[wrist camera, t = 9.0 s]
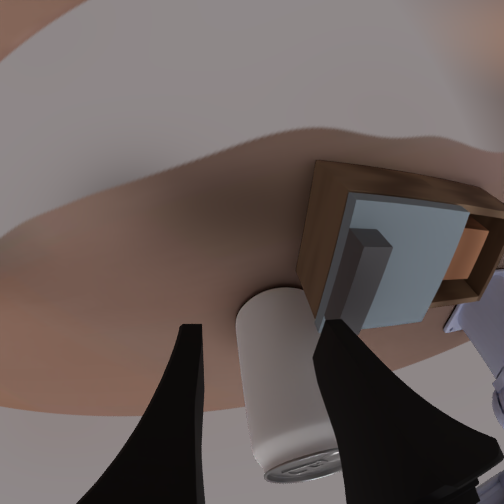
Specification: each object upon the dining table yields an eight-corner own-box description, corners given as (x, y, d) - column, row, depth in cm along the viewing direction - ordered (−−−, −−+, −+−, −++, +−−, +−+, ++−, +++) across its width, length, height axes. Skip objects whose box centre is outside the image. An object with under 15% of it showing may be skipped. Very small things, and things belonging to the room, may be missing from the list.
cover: (461, 205, 14) (487, 226, 12) (415, 313, 18) (432, 338, 16) (348, 192, 12) (372, 216, 11) (314, 322, 16) (326, 354, 15)
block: (456, 205, 20) (489, 231, 16) (439, 249, 22) (467, 278, 18) (420, 199, 19) (454, 226, 16) (403, 248, 21) (431, 280, 18)
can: (332, 316, 24) (388, 451, 14) (267, 354, 25) (294, 488, 15) (291, 267, 20) (352, 435, 10) (216, 315, 22) (229, 478, 12)
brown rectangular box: (480, 187, 19) (519, 214, 15) (450, 267, 23) (479, 300, 19) (315, 159, 17) (348, 189, 13) (295, 270, 21) (314, 318, 17)
